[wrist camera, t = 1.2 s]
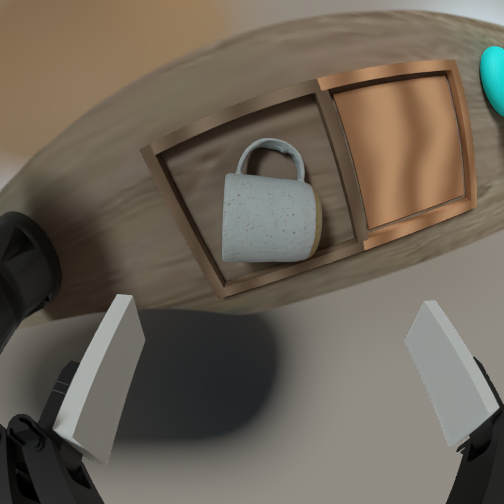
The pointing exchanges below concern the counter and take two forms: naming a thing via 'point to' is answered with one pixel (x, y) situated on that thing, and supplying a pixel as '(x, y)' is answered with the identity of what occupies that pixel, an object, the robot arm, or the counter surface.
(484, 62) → the donuts
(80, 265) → the counter surface
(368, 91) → the tray
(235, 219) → the ceramic mug
